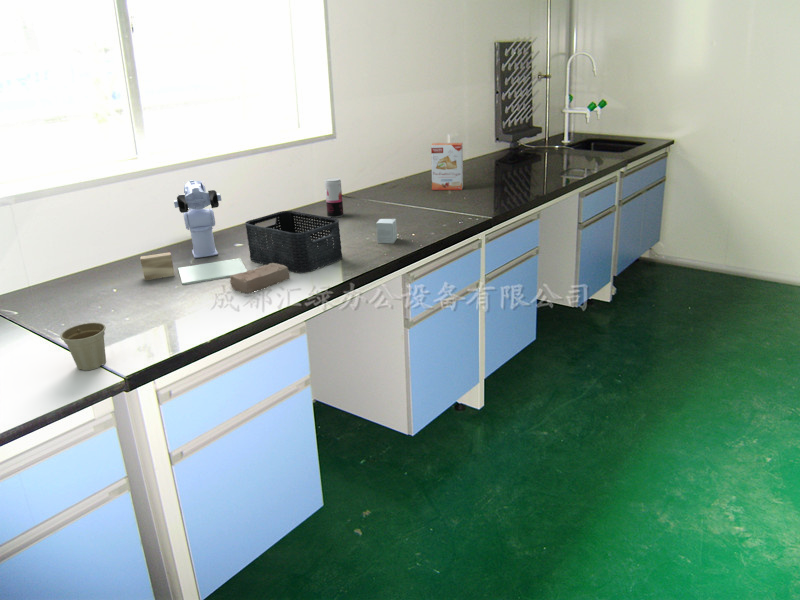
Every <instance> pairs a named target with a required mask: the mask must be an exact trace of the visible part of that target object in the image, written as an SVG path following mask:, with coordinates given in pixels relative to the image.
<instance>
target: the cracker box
mask: <svg viewBox="0 0 800 600" xmlns="http://www.w3.org/2000/svg"><path fill="white" fill-rule="evenodd" d="M430 146H431V147H430V149H431V153H430V155H431V158H430V159H431V190H432V191H453V190H454V191H462V190H463V187H464V166H463V165H464V164H463V163H464V161H463V159H464V156H463V155H464V153H463V152H464V151H463V150H464V149H463V142H433V143H431V145H430Z"/></svg>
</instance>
